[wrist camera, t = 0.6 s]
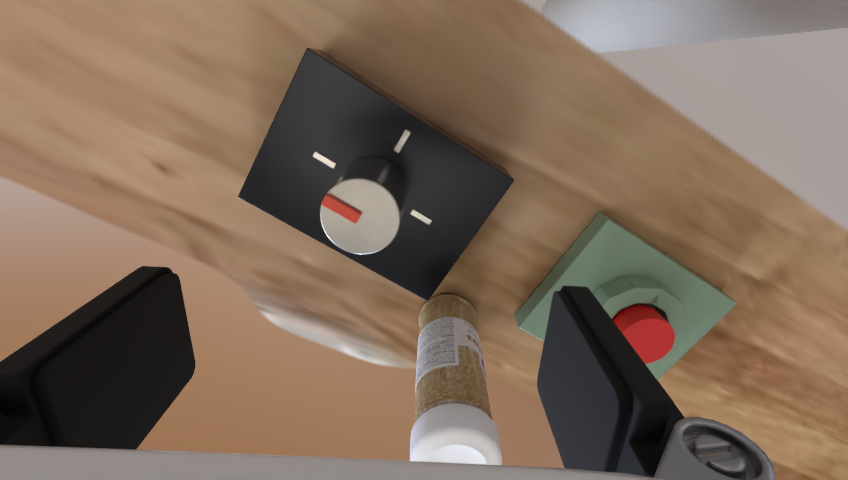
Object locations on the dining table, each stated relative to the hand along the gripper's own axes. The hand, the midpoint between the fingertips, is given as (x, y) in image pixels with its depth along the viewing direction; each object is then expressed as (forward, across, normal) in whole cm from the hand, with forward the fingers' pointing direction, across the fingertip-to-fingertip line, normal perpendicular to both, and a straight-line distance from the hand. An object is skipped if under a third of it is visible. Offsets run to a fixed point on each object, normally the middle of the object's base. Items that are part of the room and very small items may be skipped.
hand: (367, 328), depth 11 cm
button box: (+19, -16, +10) cm, 27 cm away
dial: (+16, +2, +1) cm, 16 cm away
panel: (+19, +2, +1) cm, 19 cm away
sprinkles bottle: (+19, -4, +12) cm, 23 cm away
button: (+16, -16, +10) cm, 25 cm away
